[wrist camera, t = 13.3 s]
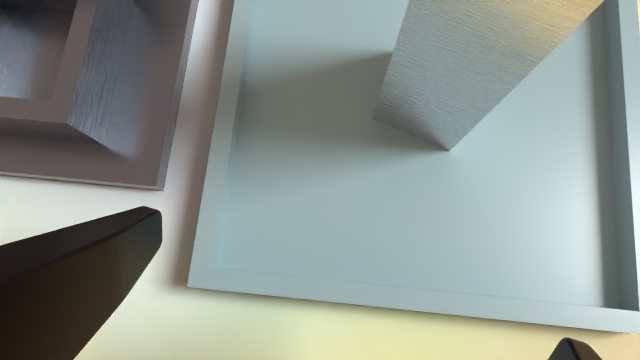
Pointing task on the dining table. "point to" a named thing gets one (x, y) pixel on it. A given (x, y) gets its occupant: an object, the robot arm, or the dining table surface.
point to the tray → (423, 175)
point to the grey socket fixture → (92, 88)
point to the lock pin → (467, 60)
